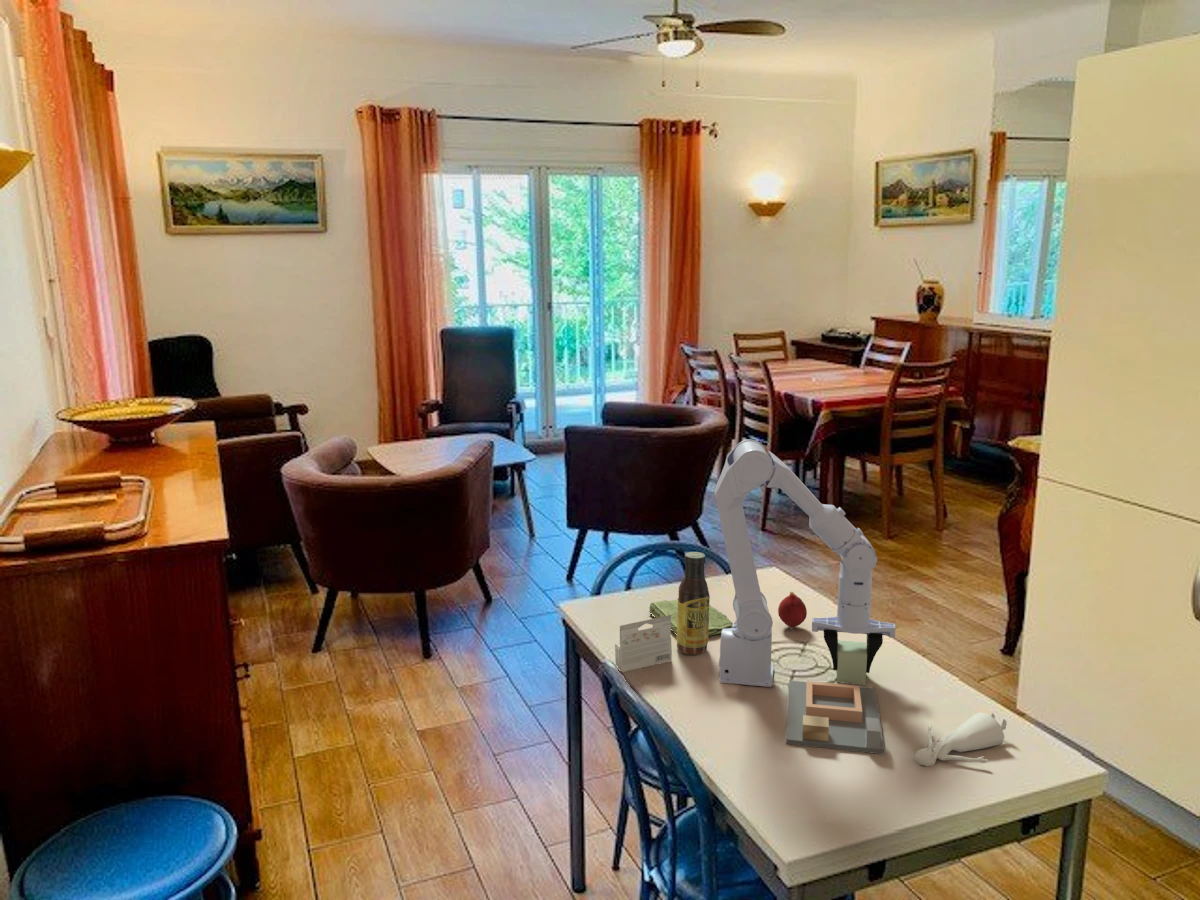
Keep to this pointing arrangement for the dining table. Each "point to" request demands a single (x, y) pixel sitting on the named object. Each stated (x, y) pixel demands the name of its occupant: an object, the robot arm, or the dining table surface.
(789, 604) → the onion
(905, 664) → the dining table surface
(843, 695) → the housing
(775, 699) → the dining table surface
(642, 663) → the ink cartridge box
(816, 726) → the tan eraser block
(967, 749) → the woman figurine
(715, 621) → the washcloth
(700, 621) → the sauce bottle
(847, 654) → the sage green cube
